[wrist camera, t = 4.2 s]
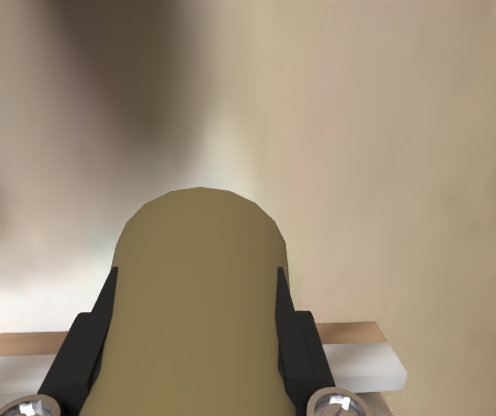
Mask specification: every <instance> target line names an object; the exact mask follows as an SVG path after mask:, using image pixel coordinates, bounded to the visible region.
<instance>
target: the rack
mask: <svg viewBox="0 0 496 416" xmlns="http://www.w3.org/2000/svg"><path fill="white" fill-rule="evenodd" d="M315 325H316V328H317V331H318V334H319V337H320V340H321V343H322V346H323V349H324V352H325V355H326V358H327V361H328V364H329V367H330V370H331V373H332V376H333V379H334V382H335V385H336V387H338V388H342V389H346V390H348V391H350V392H352V393H354V394H356V395H357V396H358V397H360V398H361V399H362V400H363V401H364V402H365V403H366V404H367V406H368V407H369V408H370V410H371V412H372V414H373V416H393V415H392V413H391V411H390V409H389V407H388V405H387V403H386V401H385V399H384V398H383V396H382V395H381V394H380V393H379V391H398V390H403V389H404V386H405V382H406V379H407V375H408V374H407V372H406V370H405V369H404V367H403V366H402V364H401V362H400V361H399V359H398V358H397V356H396V354H395V353H394V351H393V349H392V348H391V346H390V345H389V343H388V341H387V340H386V338H385V337H384V335H383V333H382V332H381V330H380V328H379V327H378V325H377V324H376V322H361V323H328V324H315ZM67 334H68V332H37V333H4V334H0V408H1V407H3V406H4V405H6V404H7V403H9V402H11V401H13V400H16V399H18V398H20V397H24V396H28V395H32V394H37V392H38V390H39V388H40V386H41V384H42V382H43V380H44V378H45V377H46V375H47V373H48V371H49V369H50V367H51V365H52V363H53V361H54V359H55V357H56V355H57V353H58V351H59V349H60V347H61V345H62V344H63V342H64V340H65V338H66V336H67Z"/></svg>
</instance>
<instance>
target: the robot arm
mask: <svg viewBox="0 0 496 416" xmlns="http://www.w3.org/2000/svg"><path fill="white" fill-rule="evenodd" d="M117 275H118V267H117V266H114V267H112V269H111V271H110V273H109V275H108V277H107V279H106V282H105V284H104V286H103V288H102V290H101V292H100V294H99V296H98V299H97V301H96V303H95V305H94V307H93V309H92V311H91V312H81V313H79V314H78V315H77V317H76V318H75V320H74V322H73V324H72V326H71V328H70V330H69V332H68V334H67V336H66V338H65V340H64V342H63V344H62V345H61V347H60V349H59V351H58V353H57V355H56V357H55V359H54V361H53V363H52V365H51V367H50V369H49V371H48V373H47V375H46V377H45V378H44V380H43V382H42V384H41V386H40V388H39V390H38V392H37V394H32V395H28V396H24V397H20V398H18V399H16V400H13V401H11V402H9V403H7V404H6V405H4V406H3V407H1V408H0V416H79V413H80V411H81V409H82V407H83V405H84V403H85V401H86V399H87V397H88V396H89V393H90V390H91V387H92V386H93V384H94V383H95V381H96V380H97V378H98V376H99V374H100V370H101V364H102V357H103V350H104V343H105V339H106V336H107V333H108V329H109V326H110V322H111V319H112V315H113V307H114V299H115V291H116V283H117ZM275 322H276V329H277V336H278V342H279V345H278V364H277V366H278V371H279V374H280V376H281V377H282V380H283V382H284V387H285V392H286V394H287V395H288V397H289V398H290V400H291V401H292V403H293V404H294V406H295V413H296V416H373V414H372V412H371V410H370V408H369V407H368V406H367V404H366V403H365V402H364V401H363V400H362V399H361V398H360V397H358V396H357V395H356V394H354V393H352V392H350V391H348V390H346V389H342V388H338V387H336V385H335V382H334V379H333V376H332V373H331V370H330V367H329V364H328V361H327V358H326V355H325V352H324V349H323V346H322V343H321V340H320V337H319V334H318V331H317V328H316V325H315V321H314V318H313V316H312V313H311V312H310V311H295V310H294V306H293V303H292V299H291V295H290V292H289V288H288V284H287V281H286V277H285V273H284V269H283V267H278V268H277V290H276V304H275Z"/></svg>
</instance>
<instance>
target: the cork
mask: <svg viewBox="0 0 496 416" xmlns="http://www.w3.org/2000/svg"><path fill="white" fill-rule="evenodd" d="M114 266H117V267H118V275H117V283H116V291H115V299H114V307H113V315H112V319H111V322H110V326H109V329H108V333H107V336H106V339H105V343H104V350H103V357H102V364H101V370H100V374H99V376H98V378H97V380H96V381H95V383H94V384H93V386H92V387H91V390H90V393H89V396H88V397H87V399H86V401H85V403H84V405H83V407H82V409H81V411H80V413H79V416H296V413H295V406H294V404H293V403H292V401H291V400H290V398H289V397H288V395H287V394H286V392H285V387H284V382H283V380H282V377H281V376H280V374H279V371H278V366H277V364H278V345H279V342H278V336H277V329H276V322H275V304H276V290H277V268H278V267H283V269H284V273H285V277H286V281H287V284H288V288H289V274H288V262H287V252H286V243H285V241H284V239H283V237H282V235H281V233H280V231H279V229H278V227H277V225H276V223H275V221H274V220H273V219H272V218H271V217H270V216H269V215H267V214H266V213H265V212H264V211H263V210H262V209H261V208H260V207H259V206H258V205H257V204H256V203H254V202H252V201H250V200H248V199H245V198H243V197H241V196H239V195H237V194H235V193H233V192H230V191H225V190H218V189H211V188H204V187H197V188H190V189H183V190H177V191H171V192H169V193H167V194H164V195H162V196H160V197H158V198H156V199H154V200H152V201H150V202H148V203H146V204H145V205H144V206H143V207H142V208H141V209H140V210H139V211H138V212H137V213H136V214H135V215H134V216H133V217H132V218H131V219H130V220H129V221H128V222H127V223H126V225H125V227H124V229H123V231H122V233H121V236H120V238H119V240H118V242H117V245H116V248H115V253H114V257H113V261H112V266H111V269H112V267H114ZM110 271H111V270H110ZM289 292H290V289H289Z"/></svg>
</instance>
